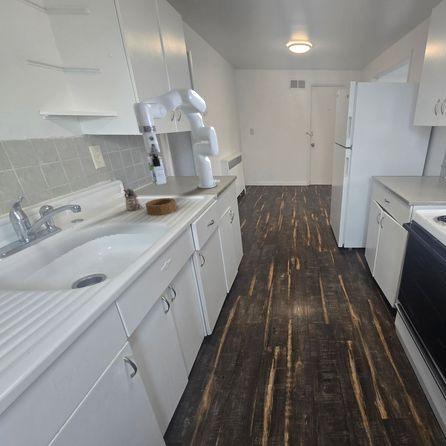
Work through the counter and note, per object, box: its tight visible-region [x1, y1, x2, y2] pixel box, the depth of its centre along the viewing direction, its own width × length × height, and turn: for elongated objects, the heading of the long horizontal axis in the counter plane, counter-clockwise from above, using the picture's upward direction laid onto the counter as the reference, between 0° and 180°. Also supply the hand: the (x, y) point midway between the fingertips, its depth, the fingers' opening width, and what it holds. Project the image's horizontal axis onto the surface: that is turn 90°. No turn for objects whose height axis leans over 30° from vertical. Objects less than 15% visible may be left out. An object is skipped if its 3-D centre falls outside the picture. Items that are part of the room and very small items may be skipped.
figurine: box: [123, 188, 142, 212], centre depth 144 cm, size 7×7×12 cm
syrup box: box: [146, 155, 167, 186], centre depth 136 cm, size 6×6×14 cm
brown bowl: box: [144, 197, 178, 216], centre depth 142 cm, size 15×15×5 cm
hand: (155, 165), depth 135 cm, fingers closed on syrup box, 6 cm apart
